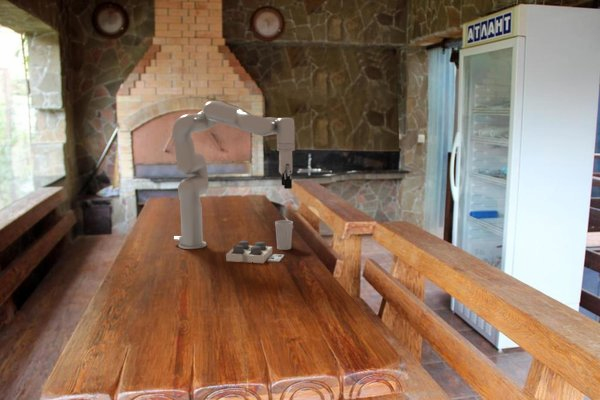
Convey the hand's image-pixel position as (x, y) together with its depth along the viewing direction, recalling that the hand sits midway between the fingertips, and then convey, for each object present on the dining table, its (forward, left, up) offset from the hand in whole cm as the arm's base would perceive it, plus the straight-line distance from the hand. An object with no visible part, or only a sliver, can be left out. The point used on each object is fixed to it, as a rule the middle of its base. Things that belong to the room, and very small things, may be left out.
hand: (286, 186), depth 246 cm
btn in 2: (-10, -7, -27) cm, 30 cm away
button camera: (-10, -14, -27) cm, 32 cm away
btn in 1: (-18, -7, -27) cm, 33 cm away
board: (-14, -10, -29) cm, 34 cm away
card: (-2, -10, -29) cm, 31 cm away
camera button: (-18, -14, -27) cm, 35 cm away
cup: (-3, +7, -30) cm, 30 cm away
